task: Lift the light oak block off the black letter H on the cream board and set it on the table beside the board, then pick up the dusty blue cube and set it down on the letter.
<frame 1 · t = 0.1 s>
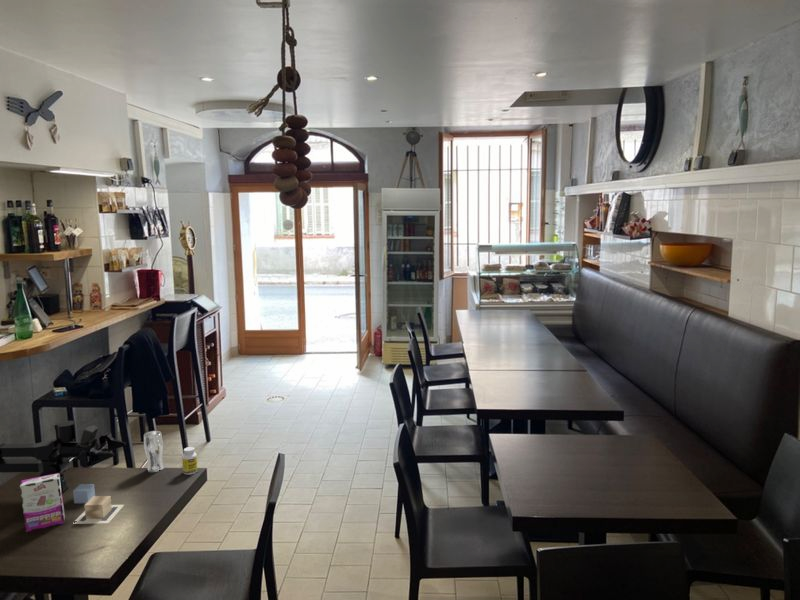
hand: (119, 449, 214), 17 cm above the table, tool horizontal, fingers open, 9 cm apart
oak block: (99, 513, 202), resting on letter board
blue cube: (84, 500, 211), on the table
letter board: (99, 514, 202), on the table
beer glass: (155, 469, 235), on the table
supplement bottle: (190, 472, 232), on the table
candy bar box: (45, 525, 195), on the table
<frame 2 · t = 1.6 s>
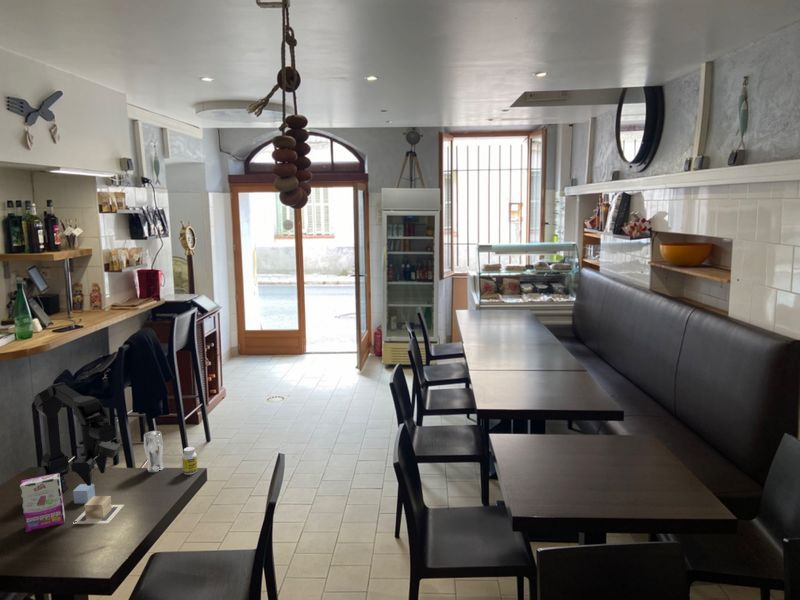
hand: (96, 479, 200), 13 cm above the table, tool pointing down, fingers open, 9 cm apart
nothing on the table moved.
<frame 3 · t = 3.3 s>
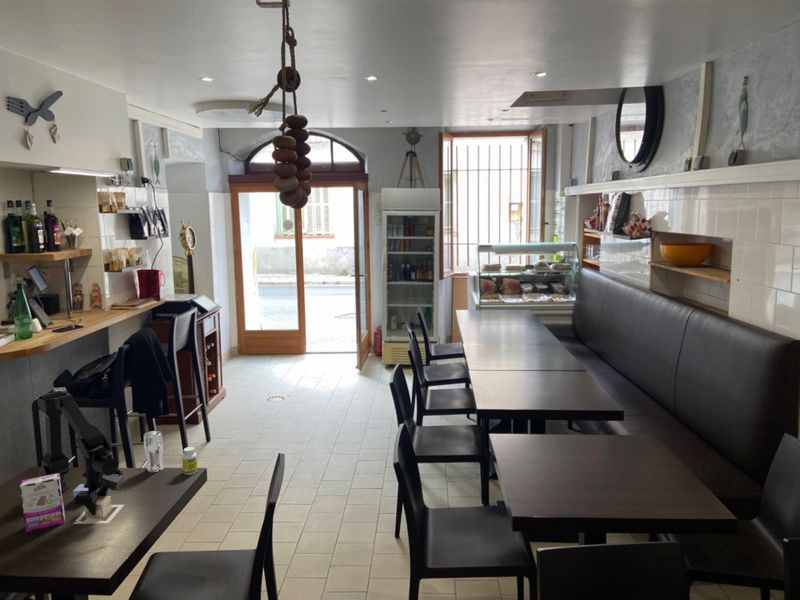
hand: (98, 510, 201), 2 cm above the table, tool pointing down, fingers closed on oak block, 6 cm apart
oak block: (99, 513, 202), resting on letter board, touching gripper
everything else where it was.
when the fingers open (3 cm above the table, at t = 7.8 s): oak block drops 2 cm, on the table.
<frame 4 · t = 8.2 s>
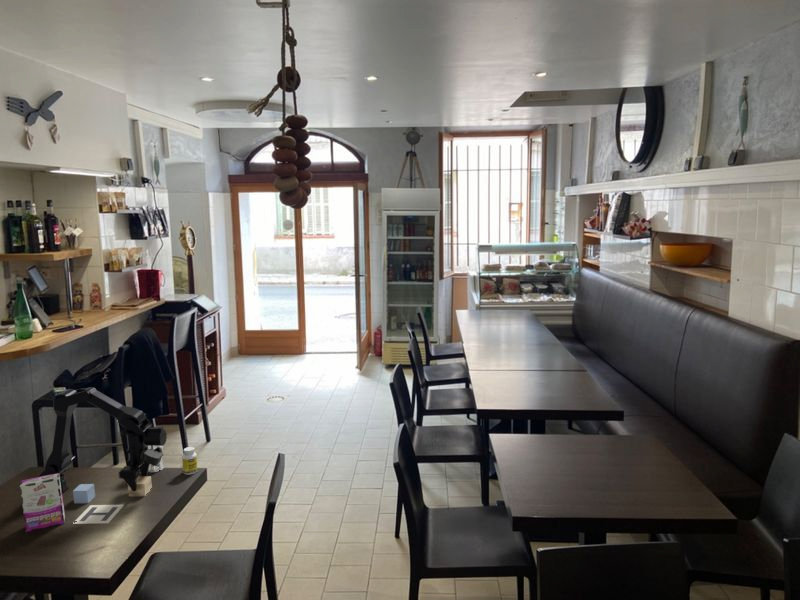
hand: (139, 484, 216), 3 cm above the table, tool pointing down, fingers open, 9 cm apart
oak block: (140, 492, 216), on the table
everything else where it was.
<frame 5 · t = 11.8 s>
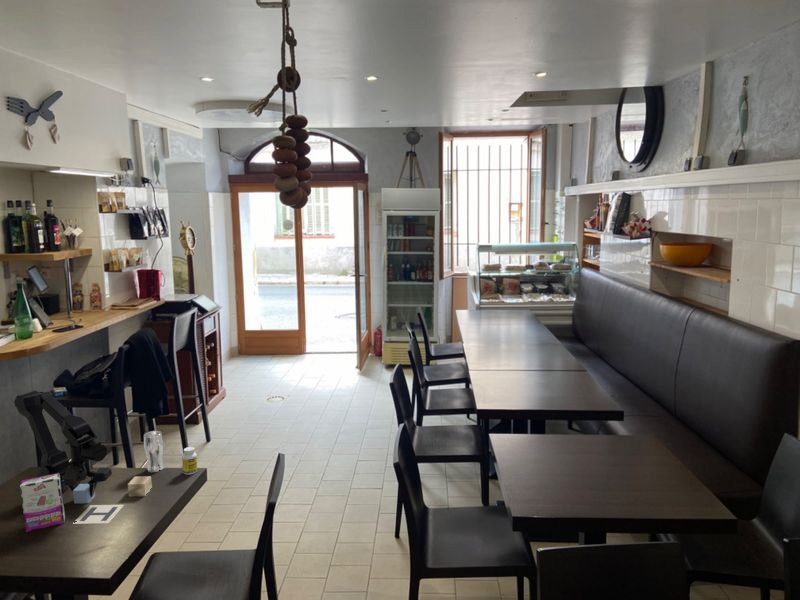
hand: (84, 496, 211), 1 cm above the table, tool pointing down, fingers closed on blue cube, 5 cm apart
blue cube: (84, 499, 211), on the table, touching gripper
everything else where it was.
when the fingers open (3 cm above the table, at t = 16.0 s): blue cube drops 1 cm, resting on letter board.
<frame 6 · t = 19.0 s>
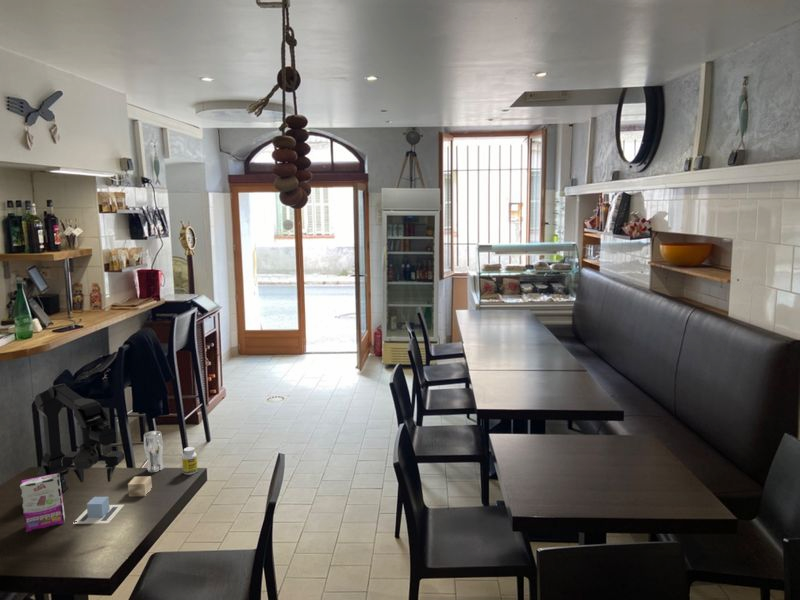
hand: (95, 481, 200), 12 cm above the table, tool pointing down, fingers open, 9 cm apart
blue cube: (99, 513, 202), resting on letter board
everything else where it was.
at the end: blue cube 0.0 cm off-centre on the letter board, point 0.1 cm above the letter board's base; blue cube tilted 0°; oak block touching table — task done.
